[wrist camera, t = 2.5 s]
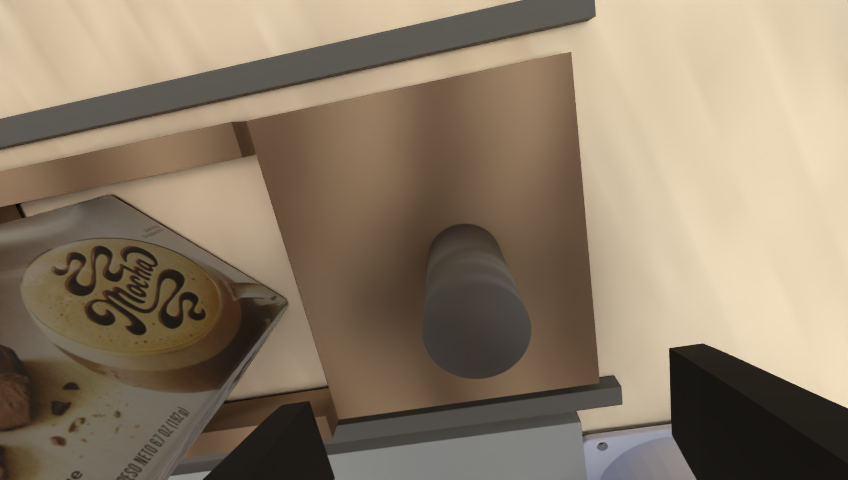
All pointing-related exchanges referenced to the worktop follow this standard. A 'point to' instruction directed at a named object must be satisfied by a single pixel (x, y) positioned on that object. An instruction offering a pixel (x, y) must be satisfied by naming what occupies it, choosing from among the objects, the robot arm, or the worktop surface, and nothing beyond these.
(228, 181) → the worktop surface
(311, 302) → the walnut strip
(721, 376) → the robot arm
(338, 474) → the grey strip
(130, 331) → the coffee box
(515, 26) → the lane rails
